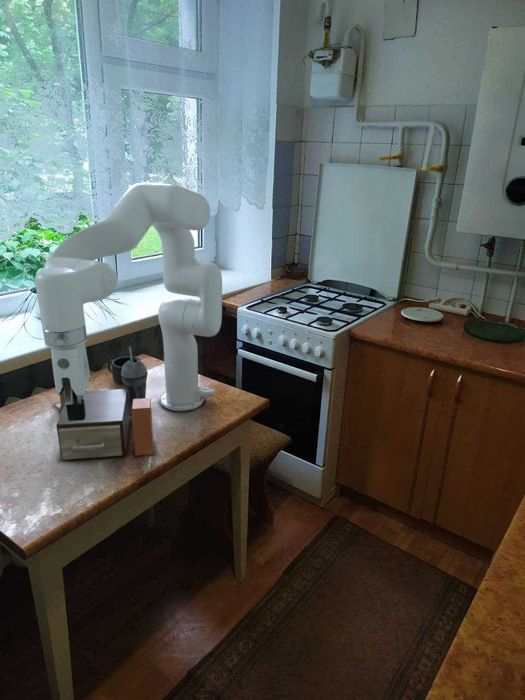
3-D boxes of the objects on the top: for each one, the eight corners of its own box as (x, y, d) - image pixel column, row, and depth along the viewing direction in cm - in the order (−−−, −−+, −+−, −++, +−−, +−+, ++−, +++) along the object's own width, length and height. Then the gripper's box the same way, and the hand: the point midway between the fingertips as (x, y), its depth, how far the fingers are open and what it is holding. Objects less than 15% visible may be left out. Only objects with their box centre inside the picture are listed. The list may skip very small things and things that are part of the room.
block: (153, 443, 126) (150, 397, 121) (153, 454, 121) (150, 407, 117) (136, 444, 125) (133, 398, 120) (135, 455, 121) (131, 408, 116)
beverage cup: (154, 407, 143) (151, 342, 136) (141, 418, 137) (136, 352, 129) (132, 402, 146) (128, 339, 138) (118, 413, 139) (112, 348, 132)
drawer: (120, 466, 115) (117, 437, 112) (58, 471, 113) (54, 441, 110) (126, 422, 133) (124, 396, 130) (73, 425, 131) (70, 399, 128)
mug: (148, 379, 160) (146, 359, 157) (130, 390, 152) (128, 369, 150) (118, 372, 165) (116, 352, 162) (99, 382, 157) (97, 362, 154)
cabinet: (125, 455, 121) (122, 420, 117) (61, 460, 118) (56, 424, 114) (129, 420, 136) (127, 388, 132) (73, 424, 133) (69, 391, 130)
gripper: (80, 349, 87) (91, 437, 94) (91, 320, 101) (100, 399, 108) (34, 351, 86) (50, 440, 93) (52, 321, 99) (64, 401, 106)
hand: (77, 418), depth 100 cm, fingers closed
